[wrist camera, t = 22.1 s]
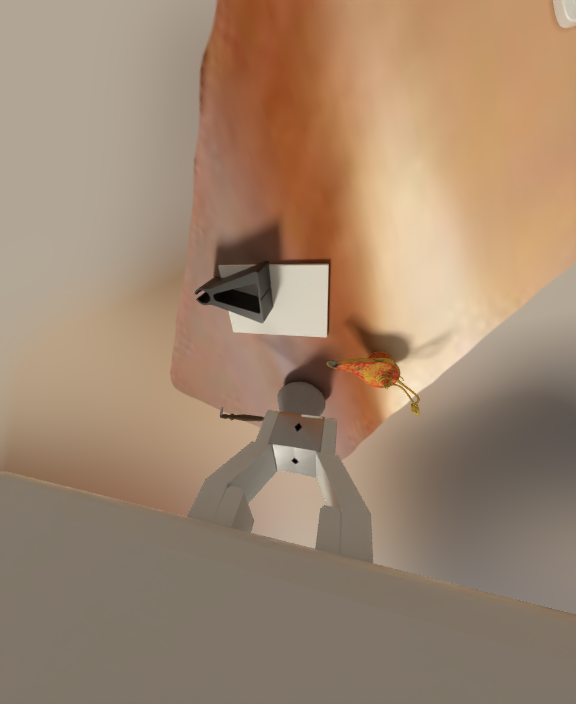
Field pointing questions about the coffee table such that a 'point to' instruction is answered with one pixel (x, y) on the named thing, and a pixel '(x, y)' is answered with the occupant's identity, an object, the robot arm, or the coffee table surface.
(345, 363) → the magic lamp
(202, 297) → the phone stand
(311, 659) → the robot arm
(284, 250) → the coffee table surface
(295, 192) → the coffee table surface
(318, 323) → the mat
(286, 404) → the coffee pot
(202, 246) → the coffee table surface
